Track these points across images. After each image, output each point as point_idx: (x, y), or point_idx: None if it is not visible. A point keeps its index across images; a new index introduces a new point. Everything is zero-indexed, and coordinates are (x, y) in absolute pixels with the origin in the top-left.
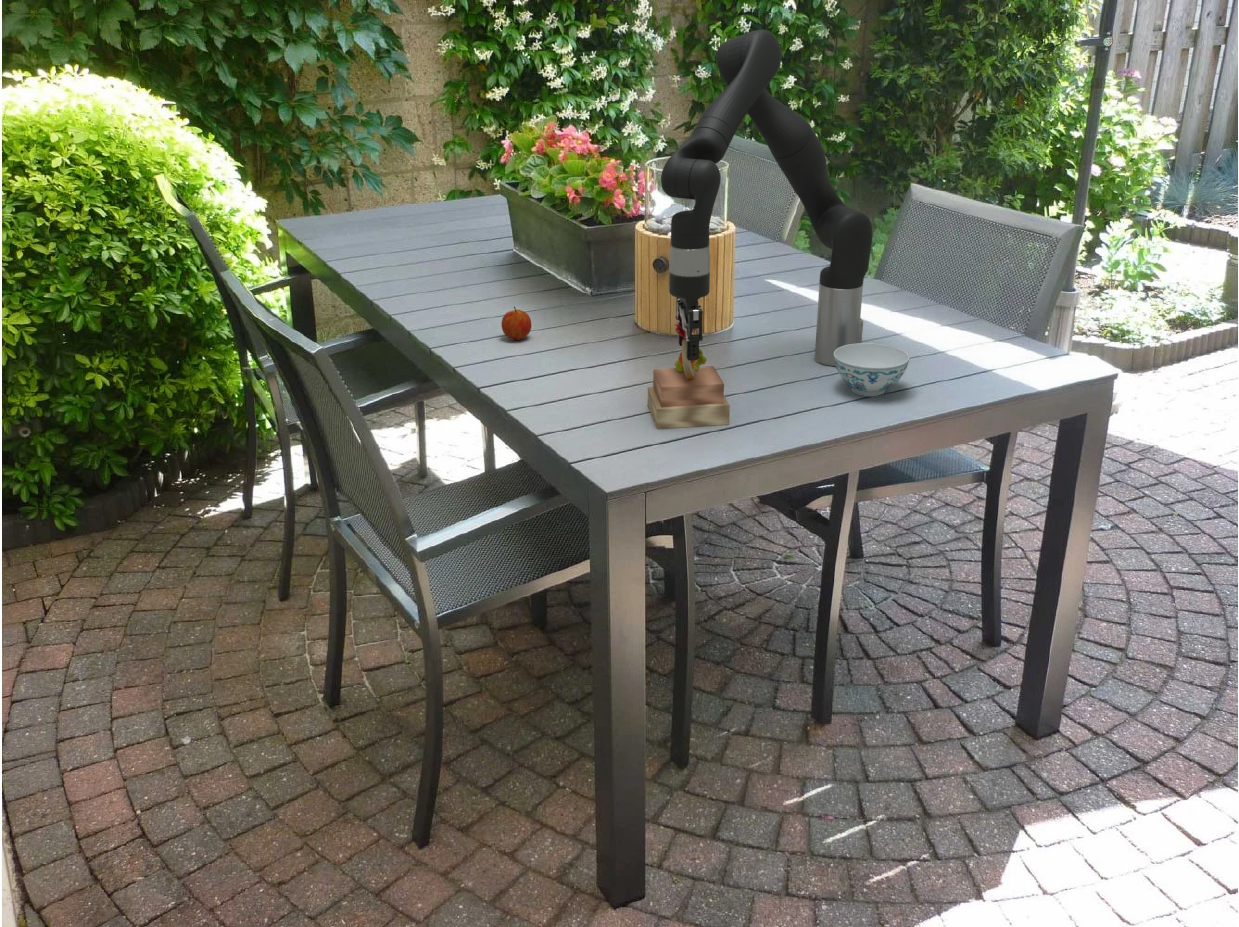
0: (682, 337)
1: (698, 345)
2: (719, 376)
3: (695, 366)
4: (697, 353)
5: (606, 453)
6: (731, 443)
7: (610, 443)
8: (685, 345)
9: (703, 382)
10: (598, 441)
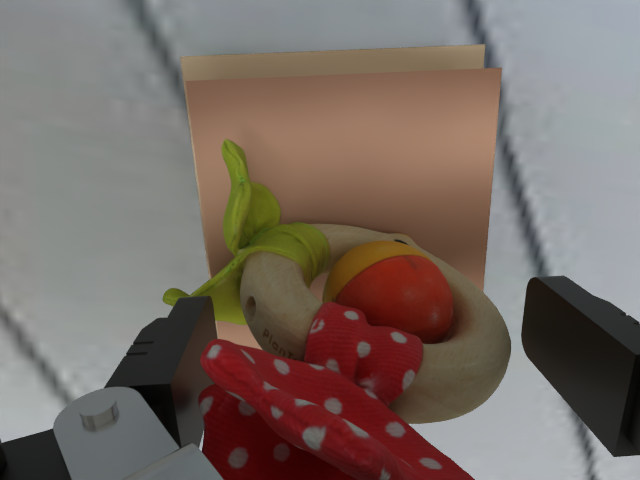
0: (204, 387)
1: (636, 331)
2: (376, 74)
3: (261, 209)
4: (621, 311)
5: (573, 448)
6: (622, 77)
7: (511, 437)
8: (480, 401)
9: (453, 184)
10: (490, 464)
